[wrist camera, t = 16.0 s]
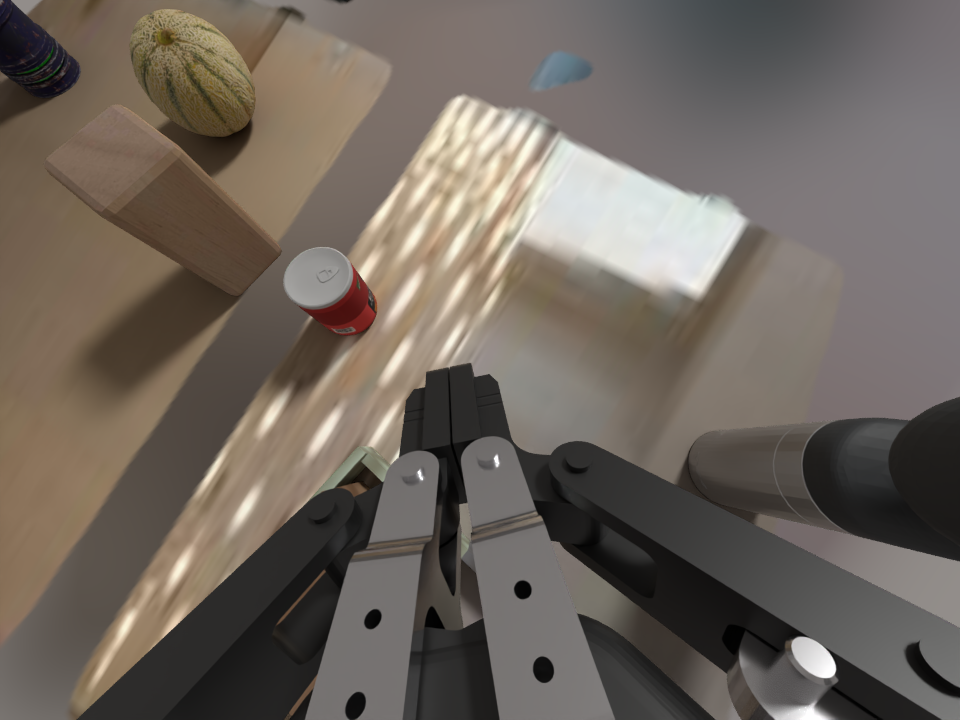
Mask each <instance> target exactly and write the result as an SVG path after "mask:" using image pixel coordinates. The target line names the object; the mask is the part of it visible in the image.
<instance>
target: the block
mask: <svg viewBox="0 0 960 720" xmlns="http://www.w3.org/2000/svg"><path fill="white" fill-rule="evenodd" d="M43 165H44V168H45V169H46V170H47V171H48V172H49V174H50V175H51V176H53V177H54V178H55V179H56V180H58V181H59V182H60V183H61V184H62V185H64V186H65V187H66V188H67V189H68V190H70V191H71V192H72V193H73V194H74V195H76V196H77V197H78V198H79V199H80V200H82V201H83V202H84V203H85V204H86V205H88V206H89V207H90V208H91V209H92V210H94V211H95V212H96V213H97V214H99V215H100V216H101V217H103V218H104V219H106V220H108V221H109V222H111V223H113V224H114V225H116V226H118V227H119V228H121V229H123V230H124V231H126V232H128V233H129V234H131V235H132V236H134V237H136V238H137V239H139V240H141V241H142V242H144V243H146V244H147V245H149V246H151V247H152V248H154V249H156V250H157V251H159V252H161V253H162V254H164V255H165V256H167V257H169V258H170V259H172V260H174V261H175V262H177V263H179V264H180V265H182V266H184V267H185V268H187V269H189V270H190V271H192V272H193V273H195V274H197V275H198V276H200V277H202V278H203V279H205V280H207V281H208V282H210V283H212V284H213V285H215V286H217V287H218V288H220V289H222V290H223V291H225V292H226V293H228V294H230V295H233V296H239V295H241V294H242V293H243V292H244V291H245V290H246V289H247V288H248V287H249V286H250V285H251V284H252V283H253V282H254V281H255V280H256V279H257V278H258V277H259V276H260V275H261V274H262V273H263V272H264V271H265V270H266V269H267V268H268V267H269V266H270V265H271V264H272V263H273V262H274V261H275V260H276V259H277V258H278V257H279V256H280V254H281V252H282V250H281V248H280V246H279V244H278V243H277V242H276V241H274V240H273V239H272V238H271V237H270V236H269V235H268V234H267V233H266V232H265V231H264V230H263V229H262V228H261V227H260V226H259V225H258V224H257V223H256V222H255V221H254V220H253V219H252V218H251V217H250V216H249V215H248V214H247V213H246V212H245V211H244V210H243V209H242V208H241V207H240V206H239V205H238V204H237V203H236V202H235V201H234V200H233V199H232V198H231V197H230V196H229V195H228V194H227V193H226V192H225V191H224V190H223V189H222V188H221V187H220V186H219V185H218V184H217V183H216V182H215V181H214V180H213V179H212V178H211V177H210V176H209V175H208V174H207V173H206V172H205V171H204V170H203V169H202V168H201V167H200V166H199V165H198V164H197V163H196V162H195V161H194V160H193V159H192V158H191V157H190V156H188V155H187V154H186V153H185V152H184V151H183V150H182V149H181V148H180V147H179V146H178V145H177V144H175V143H174V142H173V141H171V140H170V139H169V138H167V137H166V136H164V135H163V134H162V133H160V132H159V131H158V130H156V129H155V128H154V127H152V126H151V125H150V124H148V123H147V122H146V121H144V120H143V119H141V118H140V117H139V116H137V115H136V114H135V113H133V112H132V111H131V110H129V109H128V108H126V107H124V106H122V105H119V104H115V105H111V106H109V107H108V108H107V109H106V110H104V111H103V112H102V113H101V114H99V115H98V116H97V117H96V118H95V119H93V120H92V121H91V122H90V123H88V124H87V125H86V126H85V127H83V128H82V129H81V130H80V131H79V132H77V133H76V134H75V135H74V136H72V137H71V138H70V139H69V140H68V141H66V142H65V143H64V144H63V145H61V146H60V147H59V148H58V149H56V150H55V151H54V152H53V153H52V154H50V155H49V156H48V157H47V158H46V159H45V161H44V163H43Z"/></svg>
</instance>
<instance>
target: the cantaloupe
mask: <svg viewBox="0 0 960 720" xmlns="http://www.w3.org/2000/svg"><path fill="white" fill-rule="evenodd" d="M130 55H131V60H132V64H133V69H134V72H135V75H136V77H137V79H138V82H139V84H140V85H141V87H142V88H143V90H144V91H145V93H146V94H147V95H148V97H149V98H150V100H151V101H152V102H153V103H154V104H155V105H156V106H157V107H158V108H159V109H160V111H161V112H163V113H164V114H165V115H166V116H167V117H168V118H170V119H171V120H172V121H174V122H175V123H177V124H178V125H180V126H182V127H183V128H185V129H186V130H189V131H191V132H193V133H197V134H200V135H207V136H210V137H226V136H228V135H231V134H232V133H234V132H237V131H239V130H241V129H242V128H244V127H245V126H246V125H247V124H248V122H249V120H250V119H251V117H252V115H253V113H254V109H255V101H256V99H255V87H254V84H253V80H252V77H251V74H250V72H249V70H248V68H247V65H246V64H245V62H244V61H243V59H242V57H241V56H240V54H239V53H238V52H237V50H236V49H235V48H234V46H233V45H232V44H231V42H230V41H229V40H228V38H226V37H225V36H224V35H223V34H222V33H221V32H220V31H219V30H217V29H216V28H215V27H214V26H213V25H211V24H210V23H208V22H207V21H205V20H203V19H201V18H199V17H196V16H194V15H192V14H189V13H185V12H183V11H180V10H171V9H165V10H157V11H155V12H153V13H150V14H148V15H146V16H144V17H142V18H141V19H139V21H138V22H137V24H136V25H135V27H134V29H133V32H132V35H131V40H130Z"/></svg>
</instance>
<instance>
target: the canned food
mask: <svg viewBox="0 0 960 720" xmlns="http://www.w3.org/2000/svg"><path fill="white" fill-rule="evenodd" d="M283 283H284V289H285V292H286V294H287V295H288V297H289V298H290V299H291V300H292V301H293V302H294V303H295V304H297V305H298V306H299V307H300V308H301V309H303V310H304V311H305V312H307V313H308V314H309V315H310V316H312V317H313V318H314V319H316V320H317V321H318V322H320V323H321V324H322V325H324V326H325V327H326V328H328V329H329V330H331V331H332V332H334V333H337V334H340V335H354V334H358V333H360V332H362V331H364V330H365V329H367V328H368V327H369V326H370V325H371V324H372V322H373V321H374V319H375V317H376V313H377V302H376V299H375V296H374V295H373V293H372V292H371V291H370V289H369V288H368V286H367V285H366V284H365V282H364V281H363V279H362V278H361V277H360V275H359V274H358V272H357V271H356V270H355V268H354V267H353V265H352V264H351V263H350V262H349V260H348V259H347V258H346V257H345V256H344V255H343V254H342V253H341V252H339V251H337V250H335V249H332V248H327V247H317V248H312V249H309V250H307V251H304V252H302V253H301V254H299V255H298V256H297V257H295V258H294V259H293V260H292V262H291V263H290V264H289V265H288V267H287V269H286V271H285V274H284V280H283Z"/></svg>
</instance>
